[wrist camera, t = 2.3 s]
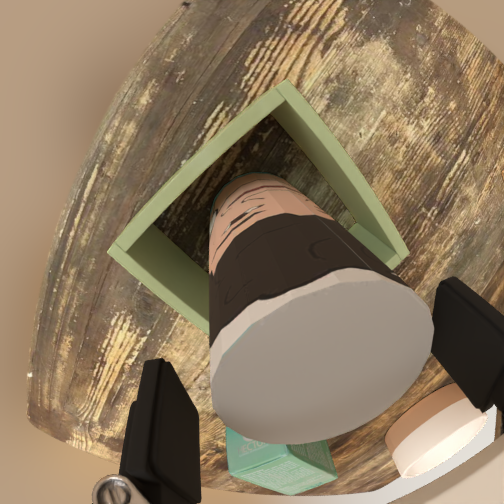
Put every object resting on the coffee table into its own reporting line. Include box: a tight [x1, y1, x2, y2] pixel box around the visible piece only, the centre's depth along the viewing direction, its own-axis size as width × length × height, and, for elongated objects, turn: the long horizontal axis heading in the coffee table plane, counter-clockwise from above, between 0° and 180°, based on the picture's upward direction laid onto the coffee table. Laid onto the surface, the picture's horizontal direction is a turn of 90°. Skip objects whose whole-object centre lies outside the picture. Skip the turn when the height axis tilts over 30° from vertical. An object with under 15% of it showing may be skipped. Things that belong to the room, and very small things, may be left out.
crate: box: [107, 79, 410, 335], centre depth 18 cm, size 13×13×6 cm
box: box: [226, 427, 338, 495], centre depth 29 cm, size 7×14×8 cm, turn 35°
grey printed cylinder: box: [209, 172, 434, 444], centre depth 14 cm, size 7×7×15 cm
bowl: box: [385, 383, 488, 478], centre depth 35 cm, size 17×17×8 cm
